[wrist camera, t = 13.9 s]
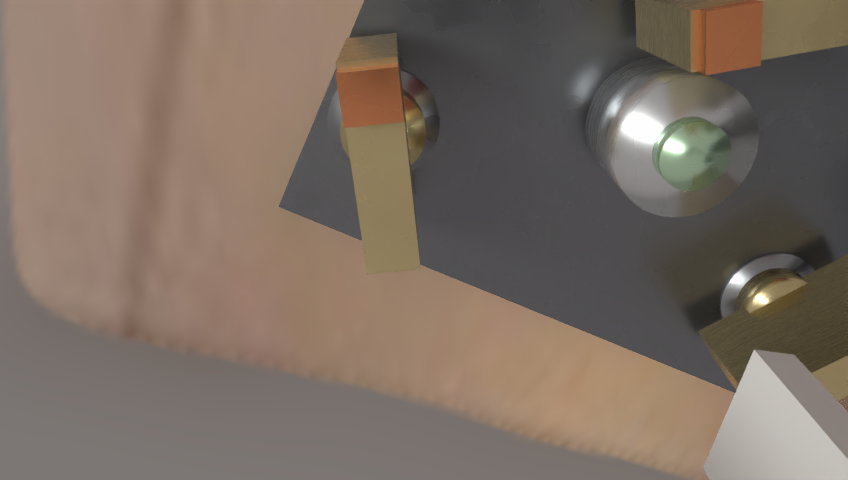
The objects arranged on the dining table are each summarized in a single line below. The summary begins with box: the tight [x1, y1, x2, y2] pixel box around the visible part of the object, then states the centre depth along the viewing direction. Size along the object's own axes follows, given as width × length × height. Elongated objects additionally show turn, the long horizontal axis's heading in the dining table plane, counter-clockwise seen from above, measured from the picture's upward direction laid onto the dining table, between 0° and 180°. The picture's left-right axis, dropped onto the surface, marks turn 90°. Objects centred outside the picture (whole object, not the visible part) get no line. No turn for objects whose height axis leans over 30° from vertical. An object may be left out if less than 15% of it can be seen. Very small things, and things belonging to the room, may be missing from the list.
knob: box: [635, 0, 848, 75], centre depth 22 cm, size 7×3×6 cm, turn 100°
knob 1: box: [335, 33, 426, 274], centre depth 24 cm, size 7×3×6 cm, turn 5°
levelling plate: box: [279, 0, 848, 393], centre depth 26 cm, size 24×17×7 cm
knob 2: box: [699, 254, 848, 401], centre depth 28 cm, size 7×3×6 cm, turn 122°
